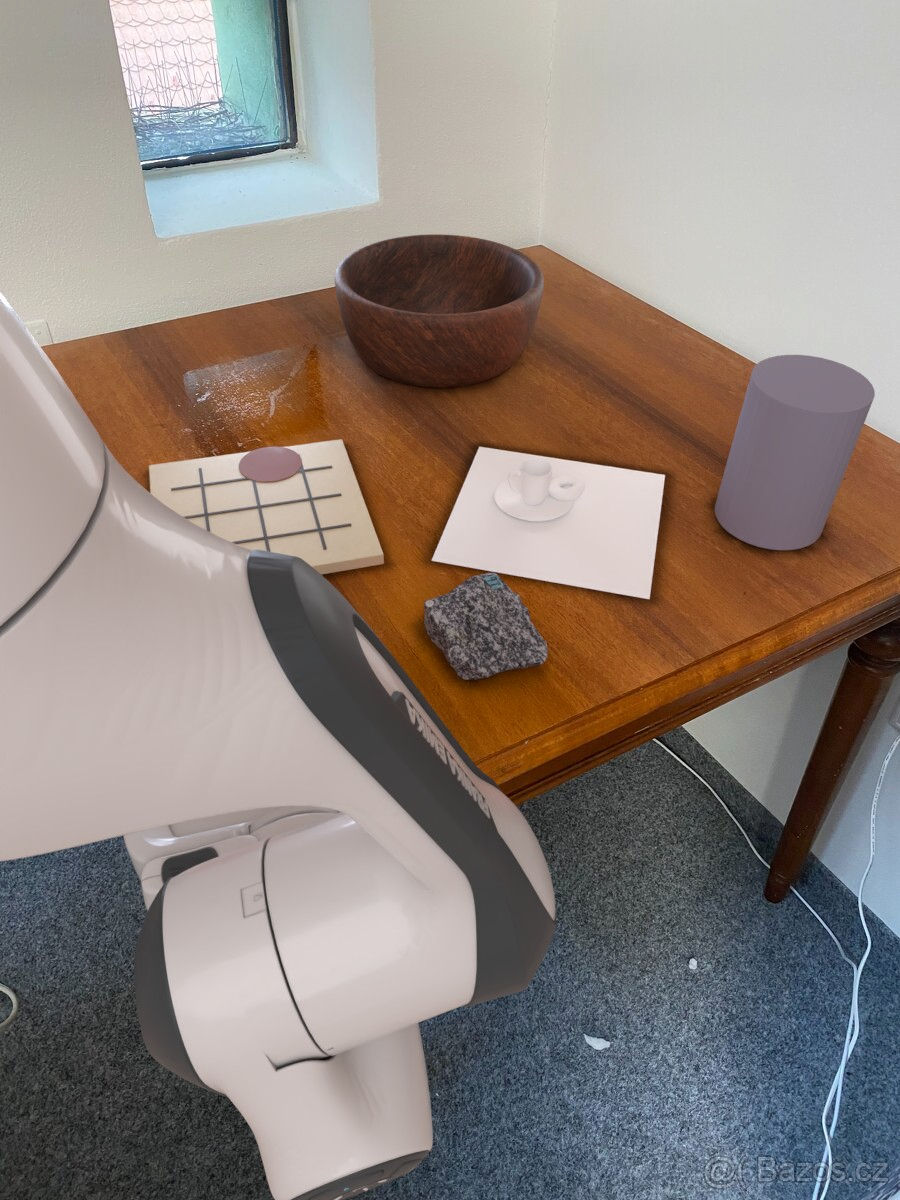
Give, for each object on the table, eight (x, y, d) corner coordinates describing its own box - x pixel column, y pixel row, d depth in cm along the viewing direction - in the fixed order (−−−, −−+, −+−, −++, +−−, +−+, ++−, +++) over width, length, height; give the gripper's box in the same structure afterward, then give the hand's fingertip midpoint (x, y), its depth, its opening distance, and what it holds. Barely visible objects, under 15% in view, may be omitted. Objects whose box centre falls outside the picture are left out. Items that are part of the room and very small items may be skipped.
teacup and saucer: (585, 485, 90) (590, 452, 87) (574, 532, 84) (579, 497, 81) (502, 472, 91) (504, 439, 89) (486, 517, 86) (487, 482, 83)
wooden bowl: (404, 294, 124) (402, 219, 117) (567, 335, 115) (576, 257, 108) (300, 368, 107) (291, 286, 100) (482, 422, 99) (486, 337, 92)
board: (159, 602, 76) (155, 591, 75) (150, 473, 90) (148, 462, 89) (384, 564, 80) (383, 553, 79) (342, 447, 94) (341, 436, 94)
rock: (465, 703, 68) (467, 666, 65) (417, 619, 75) (417, 583, 72) (551, 676, 70) (557, 639, 68) (497, 597, 77) (500, 560, 74)
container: (752, 562, 81) (798, 421, 71) (693, 500, 89) (728, 364, 78) (843, 540, 84) (901, 402, 74) (780, 481, 91) (824, 347, 81)
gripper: (477, 810, 51) (418, 646, 61) (111, 896, 47) (110, 704, 56) (473, 867, 55) (418, 705, 65) (137, 951, 51) (132, 763, 61)
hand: (273, 705), depth 61 cm, fingers open, 8 cm apart
